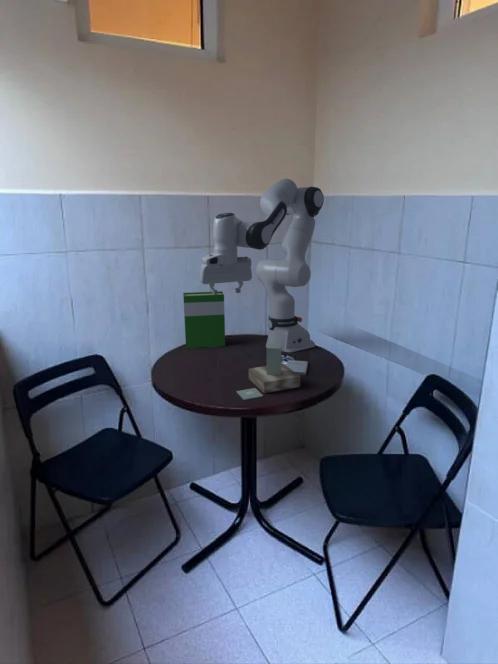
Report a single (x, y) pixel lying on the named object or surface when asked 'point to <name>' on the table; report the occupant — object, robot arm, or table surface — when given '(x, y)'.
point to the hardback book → (204, 319)
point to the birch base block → (274, 379)
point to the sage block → (274, 359)
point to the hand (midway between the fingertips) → (226, 293)
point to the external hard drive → (298, 366)
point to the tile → (249, 394)
